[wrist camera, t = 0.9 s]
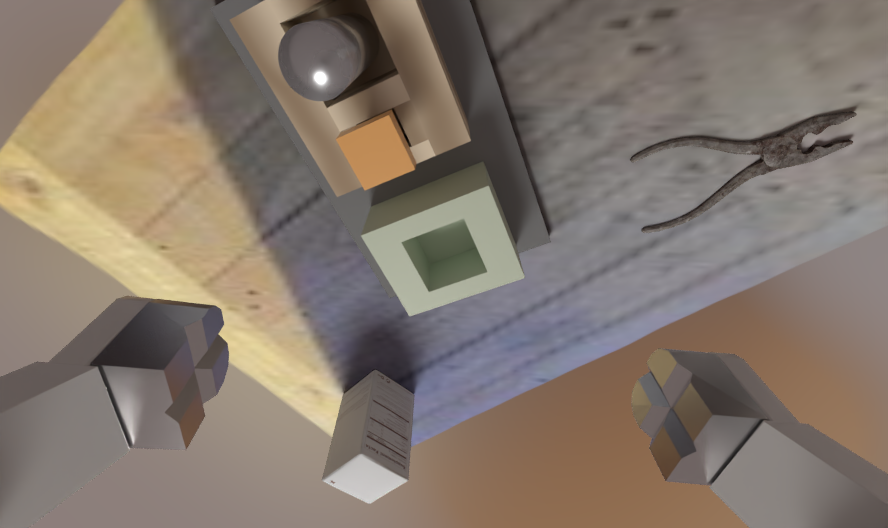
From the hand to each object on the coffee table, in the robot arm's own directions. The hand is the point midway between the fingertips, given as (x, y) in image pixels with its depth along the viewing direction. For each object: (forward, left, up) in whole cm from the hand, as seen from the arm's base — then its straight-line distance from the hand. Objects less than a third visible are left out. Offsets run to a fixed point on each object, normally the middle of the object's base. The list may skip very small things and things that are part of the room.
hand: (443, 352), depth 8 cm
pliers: (-22, +17, -35) cm, 45 cm away
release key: (+6, +1, -28) cm, 29 cm away
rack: (+6, +13, -33) cm, 36 cm away
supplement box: (+25, +34, -34) cm, 54 cm away
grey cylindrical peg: (+6, -5, -32) cm, 33 cm away
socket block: (+6, -3, -33) cm, 34 cm away
